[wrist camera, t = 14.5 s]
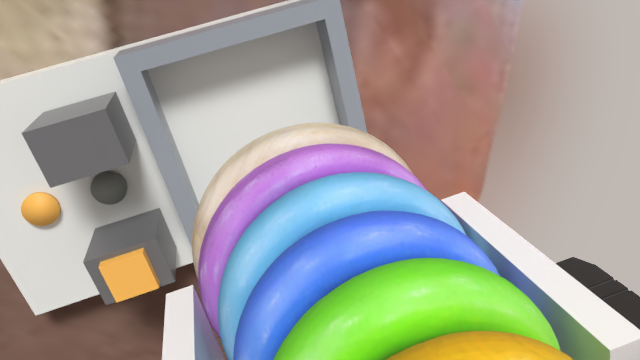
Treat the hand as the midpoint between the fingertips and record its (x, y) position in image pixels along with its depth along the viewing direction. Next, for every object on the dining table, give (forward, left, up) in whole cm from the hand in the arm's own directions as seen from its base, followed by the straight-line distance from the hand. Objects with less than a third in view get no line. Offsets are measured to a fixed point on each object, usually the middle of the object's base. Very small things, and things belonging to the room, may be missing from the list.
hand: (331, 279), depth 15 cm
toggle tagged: (-9, -5, -18) cm, 20 cm away
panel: (-6, -1, -20) cm, 20 cm away
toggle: (-9, +2, -18) cm, 20 cm away
